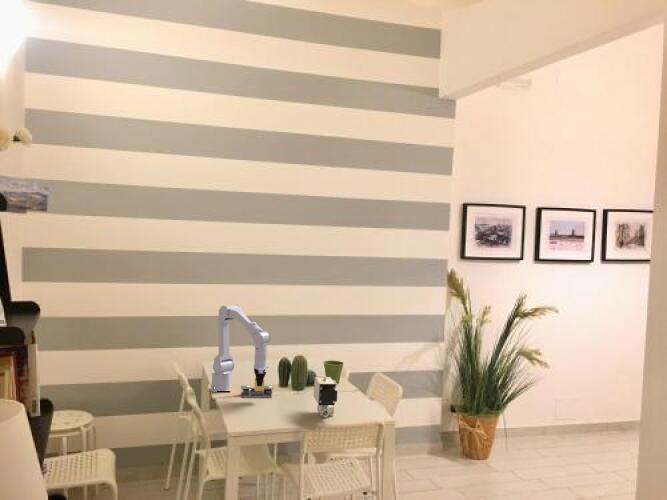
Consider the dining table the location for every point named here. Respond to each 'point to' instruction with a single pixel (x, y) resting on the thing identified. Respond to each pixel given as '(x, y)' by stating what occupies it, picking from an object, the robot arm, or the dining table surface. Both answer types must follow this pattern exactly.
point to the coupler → (258, 388)
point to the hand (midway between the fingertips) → (259, 384)
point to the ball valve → (325, 395)
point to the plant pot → (333, 369)
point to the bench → (257, 392)
